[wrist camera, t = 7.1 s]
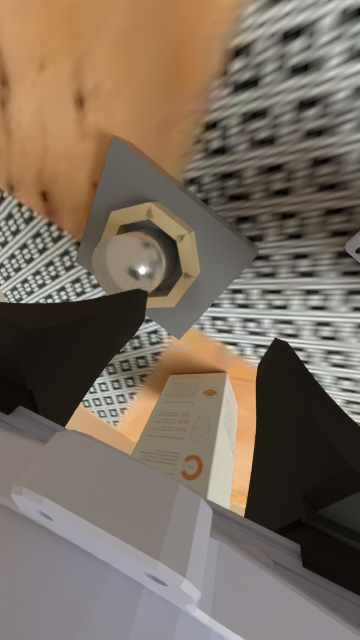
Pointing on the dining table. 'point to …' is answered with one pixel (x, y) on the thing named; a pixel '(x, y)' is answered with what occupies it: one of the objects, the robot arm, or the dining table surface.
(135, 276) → the shiny metal cylinder
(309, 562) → the robot arm
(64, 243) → the dining table surface
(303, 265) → the dining table surface
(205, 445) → the small box
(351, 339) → the dining table surface
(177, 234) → the grey square plate
